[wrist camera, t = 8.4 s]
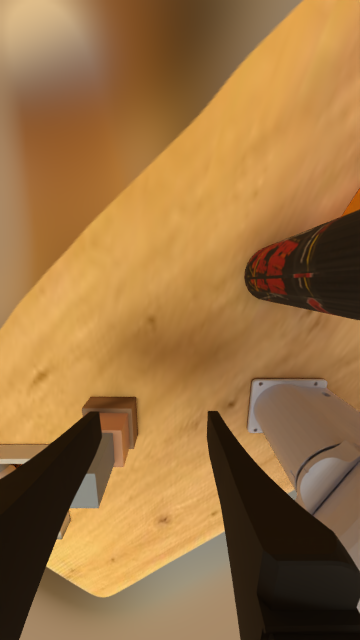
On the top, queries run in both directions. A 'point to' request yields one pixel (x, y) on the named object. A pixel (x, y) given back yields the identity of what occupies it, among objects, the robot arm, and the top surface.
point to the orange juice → (353, 204)
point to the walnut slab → (116, 411)
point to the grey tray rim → (20, 456)
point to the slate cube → (96, 475)
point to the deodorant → (312, 269)
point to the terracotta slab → (117, 434)
